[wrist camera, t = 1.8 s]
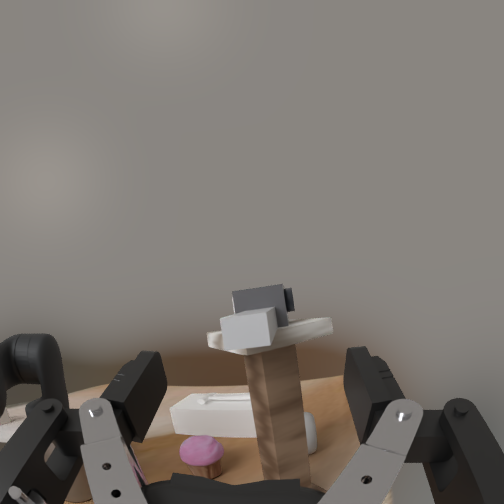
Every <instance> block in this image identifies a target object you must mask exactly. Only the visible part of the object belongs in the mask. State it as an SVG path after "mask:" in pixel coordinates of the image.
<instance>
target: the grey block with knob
mask: <svg viewBox="0 0 504 504" xmlns="http://www.w3.org/2000/svg"><path fill="white" fill-rule="evenodd" d="M232 294H233V298H232V300H233V307H234V315H230V316H226V317H223V318H220V322H221V329H222V337H223V343H224V350H225V351H226V350H236V349H245V348H254V347H262V346H270V345H271V344H272V341H273V339H274V336H275V334H276V331H277V329H278V328H279V327H286V326H289V320H288V313H287V312H290V311H294V310H295V309H294V302H293V295H292V289H291V288H287V289H284V286H283V284H279V285H273V286H266V287H259V288H253V289H246V290H239V291H233V292H232Z"/></svg>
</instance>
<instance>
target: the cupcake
mask: <svg viewBox="0 0 504 504" xmlns="http://www.w3.org/2000/svg"><path fill="white" fill-rule="evenodd" d="M223 454H224V448H223V446H222V444H221V443H219V442H217V441H216V440H215V439H214V438H213V437H211V436H208V435H199V436H192V437H189V438H188V439H187V440H185V441H184V442H183V443H182V445H181V447H180V457H181V460H182V461H183V462H185V463H186V464H187V466H188V467H189V469H190V470H191V472H192V473H193V474H194V476H202V477H205V478H209V479H213V478H215V477H217V476H219V475H220V474H221V457H222V456H223Z"/></svg>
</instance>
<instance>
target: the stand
mask: <svg viewBox="0 0 504 504" xmlns="http://www.w3.org/2000/svg"><path fill="white" fill-rule="evenodd" d="M332 333H333V328H332V320H331V318H315V319H296V320H289V326H286V327H279V328H278V329H277V331H276V334H275V336H274V339H273V341H272V344H271V345H270V346H262V347H254V348H245V349H236V350H226V351H229V352H233V353H238V354H243V355H244V360H245V367H246V374H247V380H248V387H249V393H250V399H251V405H252V411H253V417H254V423H255V429H256V435H257V441H258V447H259V453H260V458H261V464H262V470H263V475H264V480H281V479H300V486H301V487H308V488H312V489H316V490H319V491H321V492H324V493H326V492H327V491H326V490H324V489H322V488H321V487H319V486H317V485H315V484H313V483H311V476H310V466H309V456H308V446H307V437H306V427H305V418H304V410H303V401H302V393H301V385H300V377H299V369H298V361H297V354H296V347H295V344H296V343H300V342H303V341H307V340H311V339H315V338H318V337H322V336H325V335H328V334H332ZM207 339H208V345H209V347H213V348H217V349H221V350H224V343H223V337H222V330H221V331H215V332H208V333H207Z"/></svg>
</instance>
